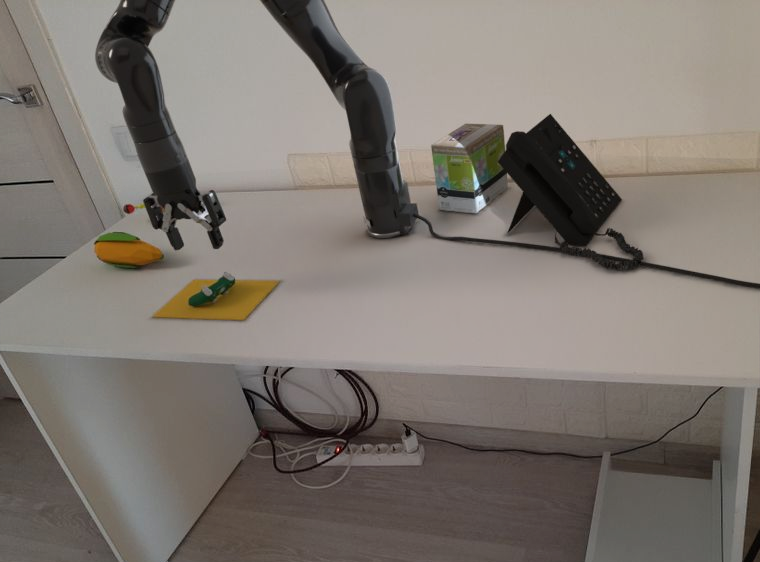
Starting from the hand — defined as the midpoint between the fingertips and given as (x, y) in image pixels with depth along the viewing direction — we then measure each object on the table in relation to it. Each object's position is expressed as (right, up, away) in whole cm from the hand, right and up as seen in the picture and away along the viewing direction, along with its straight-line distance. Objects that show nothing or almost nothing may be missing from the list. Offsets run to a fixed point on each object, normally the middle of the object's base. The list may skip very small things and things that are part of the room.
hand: (198, 247), depth 126 cm
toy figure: (-25, +15, +49) cm, 57 cm away
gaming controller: (+1, -9, +6) cm, 11 cm away
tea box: (+52, +15, +28) cm, 61 cm away
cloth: (+1, -9, +6) cm, 11 cm away
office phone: (+72, +4, +7) cm, 72 cm away
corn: (-23, 0, +27) cm, 35 cm away
